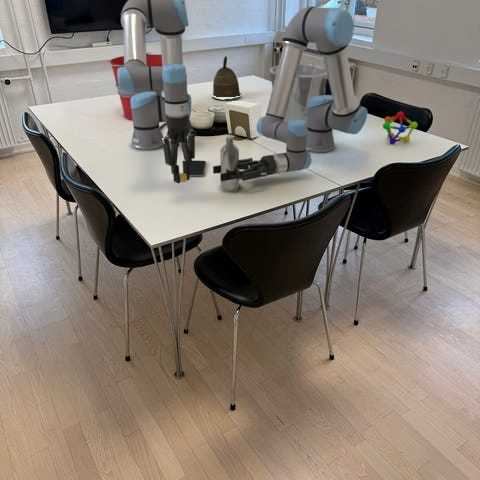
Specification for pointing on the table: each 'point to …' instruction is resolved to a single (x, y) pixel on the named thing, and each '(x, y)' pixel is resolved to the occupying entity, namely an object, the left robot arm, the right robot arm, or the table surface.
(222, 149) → the bottle
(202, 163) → the smartphone
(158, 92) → the bucket
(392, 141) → the educational toy
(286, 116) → the bucket
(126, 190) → the table surface
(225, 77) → the bell
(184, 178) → the cap
